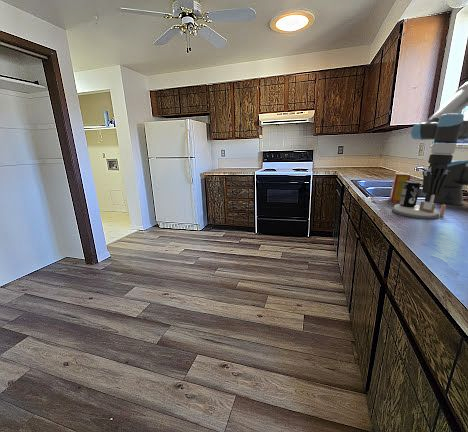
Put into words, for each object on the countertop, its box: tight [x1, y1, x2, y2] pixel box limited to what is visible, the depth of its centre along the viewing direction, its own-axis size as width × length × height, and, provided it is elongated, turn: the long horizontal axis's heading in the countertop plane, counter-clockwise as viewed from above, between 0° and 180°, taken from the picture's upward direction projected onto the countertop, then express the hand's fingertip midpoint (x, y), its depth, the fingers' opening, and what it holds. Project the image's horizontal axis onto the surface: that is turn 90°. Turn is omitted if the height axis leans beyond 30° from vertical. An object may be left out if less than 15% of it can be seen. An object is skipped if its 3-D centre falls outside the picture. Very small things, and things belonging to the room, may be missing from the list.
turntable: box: [393, 200, 440, 217], centre depth 115 cm, size 17×17×5 cm
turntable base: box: [392, 204, 447, 220], centre depth 114 cm, size 18×20×6 cm
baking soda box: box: [389, 171, 412, 204], centre depth 138 cm, size 10×6×16 cm
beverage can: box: [399, 180, 421, 207], centre depth 117 cm, size 7×7×12 cm
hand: (427, 208), depth 108 cm, fingers closed
